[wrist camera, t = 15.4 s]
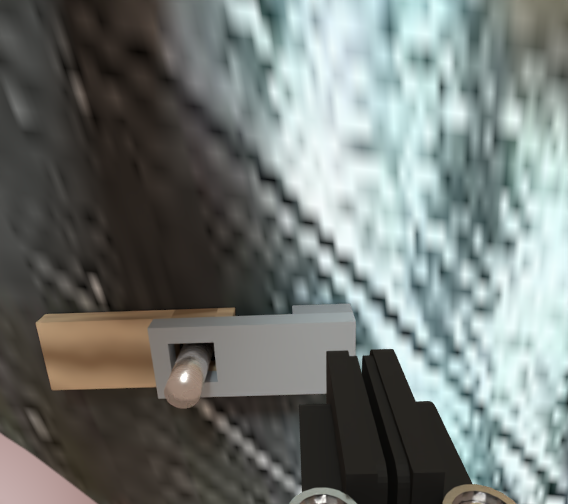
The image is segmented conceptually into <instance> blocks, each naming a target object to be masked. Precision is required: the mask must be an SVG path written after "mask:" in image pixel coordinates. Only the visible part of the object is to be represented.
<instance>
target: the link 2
mask: <svg viewBox="0 0 568 504" xmlns="http://www.w3.org/2000/svg"><path fill="white" fill-rule="evenodd" d="M147 329H148V336H149V342H150V349H151V355H152V361H153V368H154V374H155V381H156V387H157V394H158V399H162V398H165V396H164V388H165V386H166V383H167V381H168V379H169V376H170V374H171V372H172V369H173V367H174V365H175V362H176V354H175V347H174V344H180V343H211V342H214V351H215V360H216V370H217V371H207V375H206V378H205V382H204V385H203V388H202V392H201V395H200V397H229V396H262V395H295V394H326V351H342V350H348V352H349V356H355V335H356V321H355V318H354V314H353V311H352V308H351V305H350V304H323V305H294V306H292V314H283V315H254V316H225V317H196V318H166V319H153V320H152V322H151V323H150V325H149V327H148V328H147Z"/></svg>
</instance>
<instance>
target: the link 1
mask: <svg viewBox="0 0 568 504" xmlns="http://www.w3.org/2000/svg"><path fill="white" fill-rule="evenodd" d="M225 316H236V315H235V308H208V309H179V310H150V311H121V312H92V313H64V314H45V315H44V316H43V317H42V318H41V319H40V320H38V321H37V322H36V327H37V331H38V335H39V339H40V343H41V347H42V351H43V356H44V360H45V364H46V368H47V372H48V376H49V380H50V384H51V389H52V390H76V389H109V388H141V387H156V381H155V374H154V368H153V361H152V355H151V349H150V342H149V336H148V329H147V328H148V327H149V325H150V323H151V322H152V320H153V319H166V318H196V317H225ZM174 347H175V354H176V360H177V358H178V355H179V353H180V351H181V349H180V344H174ZM208 371H217V370H216V361H210V365H209V368H208Z"/></svg>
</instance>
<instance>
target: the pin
mask: <svg viewBox="0 0 568 504" xmlns="http://www.w3.org/2000/svg"><path fill="white" fill-rule="evenodd" d="M213 351H214V342H211V343H184V344H183V346H182V348H181V351H180V353H179V355H178V358H177V360H176V362H175V365H174V367H173V369H172V372H171V374H170V376H169V379H168V381H167V383H166V386H165V388H164V396H165V398H166V400H167V401H168V402H169V403H170V404H171V405H173V406H175V407H177V408H190V407H192V406H194V405H195V404H196V403H197V402H198V401H199V398H200V395H201V392H202V388H203V385H204V382H205V378H206V375H207V371H208V368H209V365H210V361H211V358H212V355H213Z"/></svg>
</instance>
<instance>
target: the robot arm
mask: <svg viewBox="0 0 568 504" xmlns="http://www.w3.org/2000/svg"><path fill="white" fill-rule="evenodd" d="M326 399H327V404H305V405H299V416H300V447H301V476H302V493H300V494H299V495H297V496H296V497H294V498H293V500H292V501H291V502H290V503H289V504H516V503H515V502H514V501H513V500H512V499H510V498H509V497H507V496H506V495H504V494H503V493H501V492H499V491H497V490H494V489H492V488H490V487H486V486H481V485H477V484H472V482H471V480H470V478H469V476H468V474H467V472H466V469H465V467H464V465H463V463H462V461H461V459H460V457H459V455H458V453H457V451H456V449H455V447H454V444H453V442H452V440H451V438H450V436H449V434H448V432H447V430H446V428H445V426H444V424H443V422H442V419H441V417H440V415H439V413H438V411H437V409H436V407H435V405H434V404H433V403H432V402H431V401H420V402H416V401H415V399H414V397H413V394H412V392H411V389H410V387H409V385H408V382H407V380H406V378H405V375H404V373H403V371H402V368H401V366H400V363H399V361H398V359H397V356H396V354H395V352H394V350H393V349H378V350H371V351H370V355H369V356H363V358H362V373H361V369H360V366H359V362H358V358H357V356H349V352H348V350H342V351H326Z"/></svg>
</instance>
